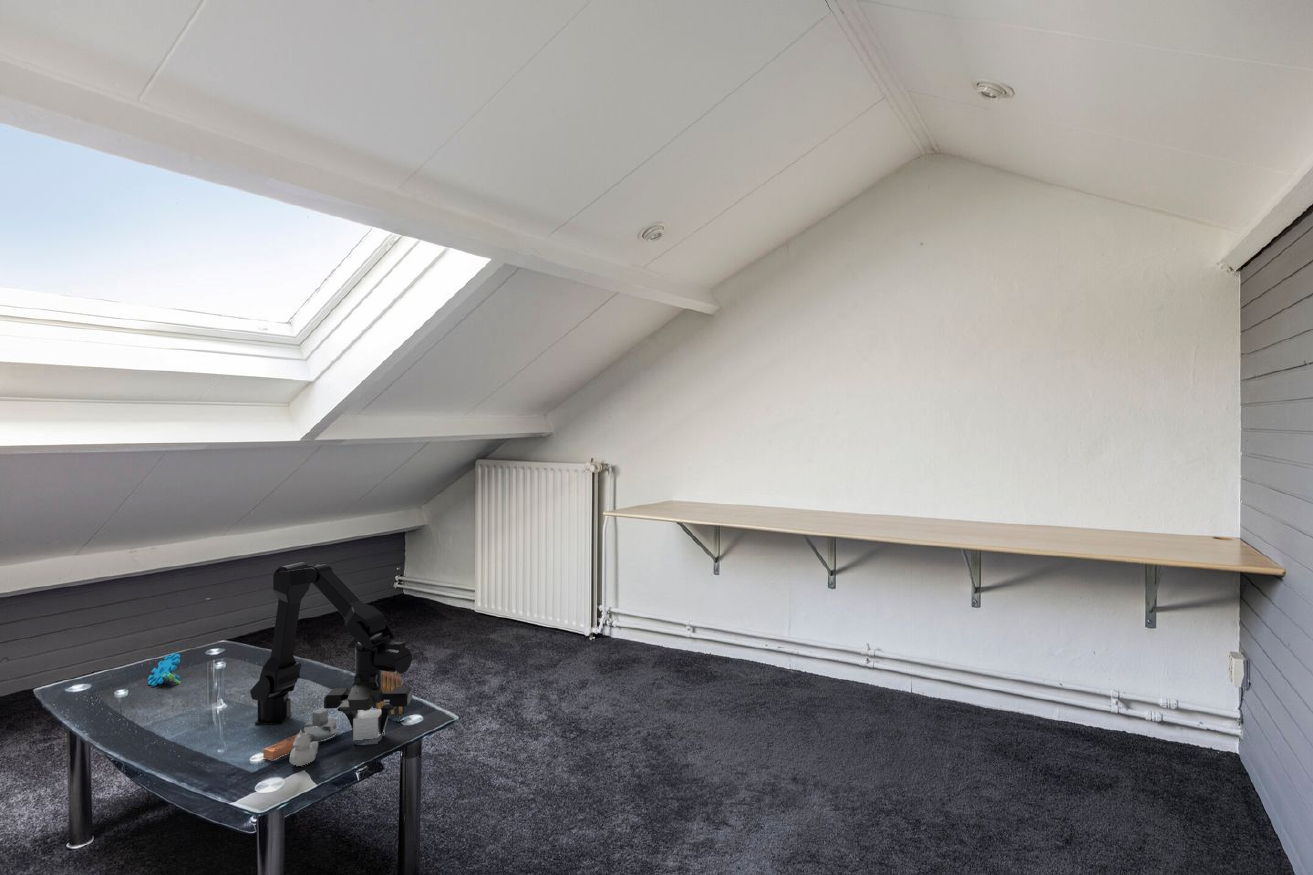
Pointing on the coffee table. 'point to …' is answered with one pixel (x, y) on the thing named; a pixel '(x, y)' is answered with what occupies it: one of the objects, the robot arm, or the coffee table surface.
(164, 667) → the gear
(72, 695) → the coffee table surface
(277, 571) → the robot arm
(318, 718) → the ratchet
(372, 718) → the small white cube
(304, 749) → the rubber duck
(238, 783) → the coffee table surface
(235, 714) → the coffee table surface
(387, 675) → the ammunition clip
